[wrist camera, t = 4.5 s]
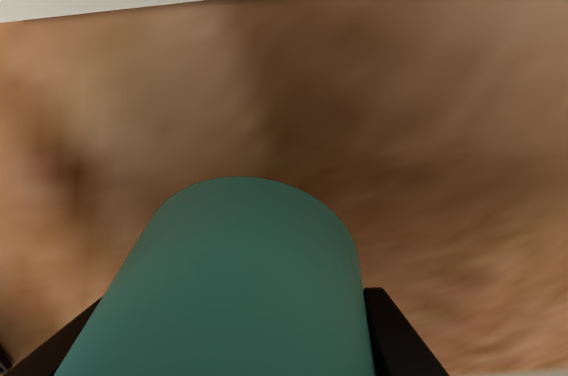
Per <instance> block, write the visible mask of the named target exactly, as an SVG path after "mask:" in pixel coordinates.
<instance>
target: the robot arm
mask: <svg viewBox="0 0 568 376" xmlns="http://www.w3.org/2000/svg"><path fill="white" fill-rule="evenodd" d="M363 292H364V298H365V305H366V311H367V317H368V324H369V330H370V336H371V343H372V349H373V355H374V361H375V368H376V374H377V376H449V374H448V373H447V372H446V370H445V369H444V368H443V366H442V365H441V364H440V362H439V361H438V360H437V358H436V357H435V356H434V355H433V353H432V352H431V351H430V349H429V348H428V347H427V345H426V344H425V343H424V341H423V340H422V339H421V337H420V336H419V335H418V333H417V332H416V331H415V329H414V328H413V327H412V326H411V324H410V323H409V322H408V320H407V319H406V318H405V316H404V315H403V314H402V312H401V311H400V310H399V308H398V307H397V306H396V304H395V303H394V302H393V301H392V299H391V298H390V297H389V295H388V294H387V293H386V291H385V290H384V289H383V288H380V287H371V288H365V289H364V290H363ZM102 297H103V296H102ZM102 297H101V298H100V299H98V300H97V301H96V302H95V303H93V304H92V305H91V306H90V307H88V308H87V309H86V310H85V311H83V312H82V313H81V314H80V315H78V316H77V317H76V318H75V319H73V320H72V321H71V322H69V323H68V324H67V325H66V326H64V327H63V328H62V329H61V330H59V331H58V332H57V333H56V334H54V335H53V336H52V337H51V338H49V339H48V340H47V341H46V342H44V343H43V344H42V345H40V346H39V347H38V348H37V349H35V350H34V351H33V352H32V353H30V354H29V355H28V356H27V357H25V358H24V359H23V360H22V361H20V362H19V363H18V364H17V365H15V366H14V367H13V364H12V363H11V362H10V360H9V359H8V358H7V357H6V356H5V354H4V353H3V352H2V351H1V350H0V374H4V375H3V376H54V374H55V373H56V371H57V369H58V368H59V366H60V365H61V363H62V361H63V360H64V358H65V357H66V355H67V353H68V352H69V350H70V349H71V347H72V345H73V344H74V342H75V341H76V339H77V337H78V336H79V334H80V333H81V331H82V329H83V328H84V326H85V325H86V323H87V321H88V320H89V318H90V316H91V315H92V313H93V312H94V310H95V308H96V307H97V305H98V304H99V302H100V300H101V299H102ZM12 367H13V368H12Z"/></svg>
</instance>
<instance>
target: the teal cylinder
mask: <svg viewBox="0 0 568 376" xmlns="http://www.w3.org/2000/svg"><path fill="white" fill-rule="evenodd" d="M54 376H377V374H376V368H375V361H374V355H373V349H372V343H371V336H370V330H369V324H368V317H367V311H366V305H365V298H364V292H363V285H362V278H361V272H360V266H359V259H358V254H357V250H356V246H355V243H354V241H353V239H352V236H351V234H350V232H349V231H348V229H347V228H346V226H345V225H344V223H343V222H342V221H341V220H340V219H339V217H338V216H337V215H336V214H335V213H334V212H333V211H332V210H331V209H329V208H328V207H327V206H326V205H325V204H323V203H322V202H321V201H319V200H318V199H316V198H314V197H313V196H311V195H310V194H308V193H306V192H304V191H302V190H300V189H298V188H295V187H293V186H290V185H287V184H284V183H281V182H277V181H273V180H269V179H264V178H256V177H223V178H215V179H211V180H207V181H203V182H199V183H197V184H194V185H191V186H189V187H187V188H185V189H183V190H181V191H179V192H178V193H176V194H174V195H173V196H172V197H170V198H169V199H168V200H167V201H165V202H164V203H163V204H162V205H161V207H160V208H159V209H158V210H157V211H156V212H155V214H154V216H153V217H152V219H151V220H150V222H149V223H148V225H147V227H146V228H145V230H144V231H143V233H142V235H141V236H140V238H139V240H138V241H137V243H136V244H135V246H134V248H133V249H132V251H131V252H130V254H129V256H128V257H127V259H126V260H125V262H124V264H123V265H122V267H121V268H120V270H119V272H118V273H117V275H116V276H115V278H114V280H113V281H112V283H111V284H110V286H109V288H108V289H107V291H106V292H105V294H104V296H103V297H102V299H101V300H100V302H99V304H98V305H97V307H96V308H95V310H94V312H93V313H92V315H91V316H90V318H89V320H88V321H87V323H86V325H85V326H84V328H83V329H82V331H81V333H80V334H79V336H78V337H77V339H76V341H75V342H74V344H73V345H72V347H71V349H70V350H69V352H68V353H67V355H66V357H65V358H64V360H63V361H62V363H61V365H60V366H59V368H58V369H57V371H56V373H55V374H54Z"/></svg>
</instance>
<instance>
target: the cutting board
mask: <svg viewBox="0 0 568 376" xmlns="http://www.w3.org/2000/svg"><path fill="white" fill-rule="evenodd" d="M193 1H202V0H0V23H2V22H11V21H20V20H29V19H38V18H48V17H57V16H66V15H75V14H84V13H93V12H102V11H111V10H120V9H129V8H138V7H147V6H157V5H166V4H175V3H184V2H193Z"/></svg>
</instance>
